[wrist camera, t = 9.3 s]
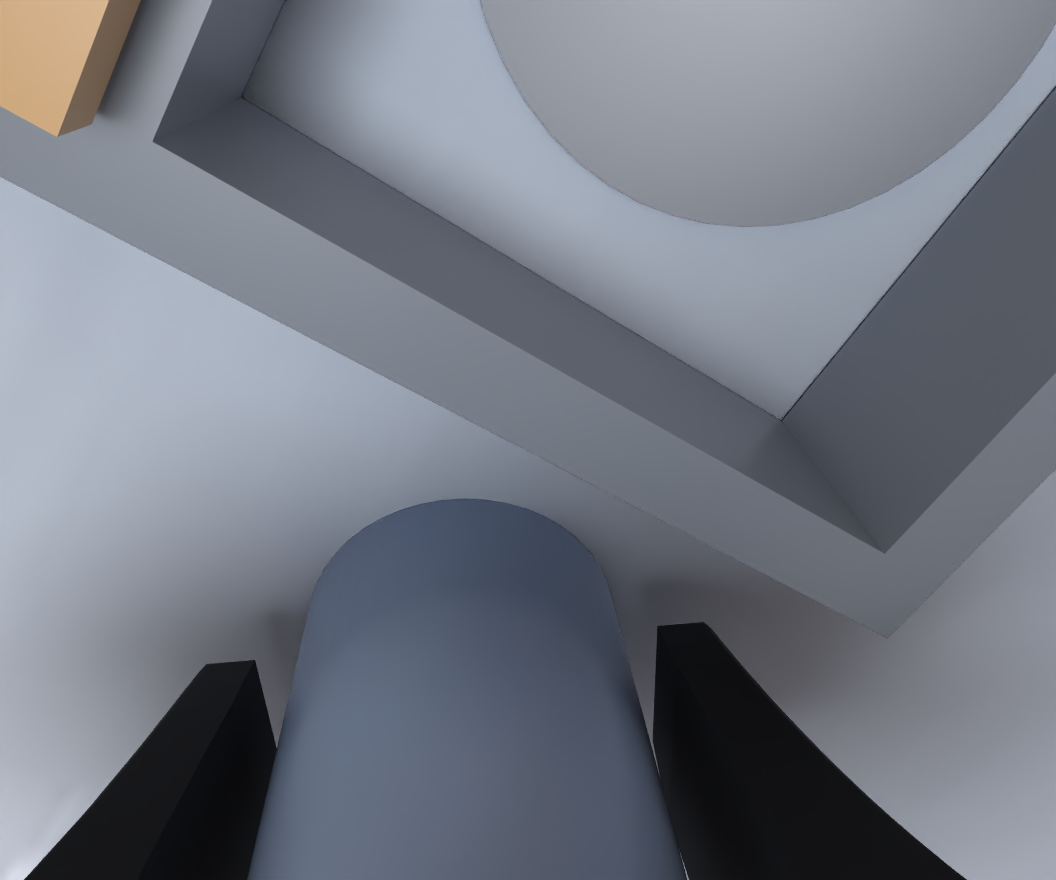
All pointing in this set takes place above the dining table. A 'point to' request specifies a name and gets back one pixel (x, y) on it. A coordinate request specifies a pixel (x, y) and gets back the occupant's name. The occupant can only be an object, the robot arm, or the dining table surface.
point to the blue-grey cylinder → (464, 714)
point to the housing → (677, 189)
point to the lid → (60, 58)
